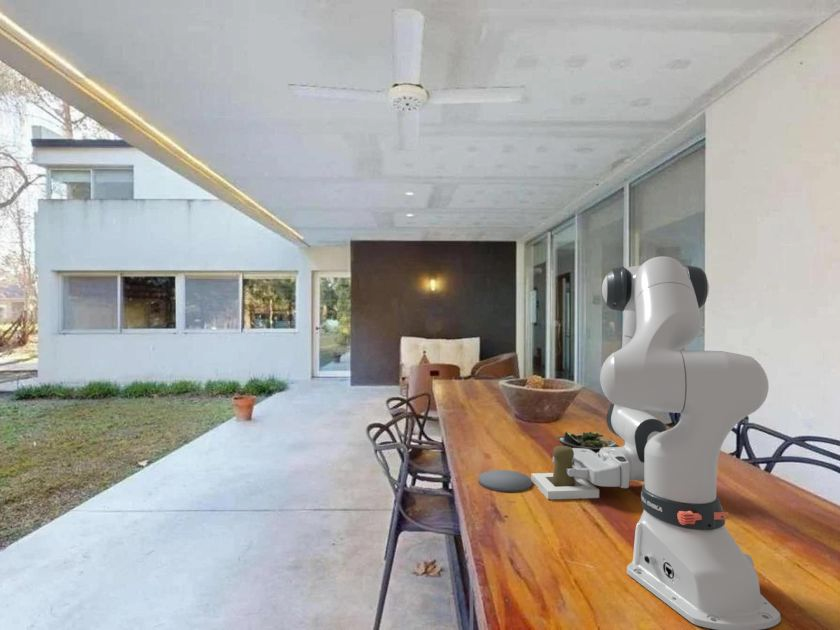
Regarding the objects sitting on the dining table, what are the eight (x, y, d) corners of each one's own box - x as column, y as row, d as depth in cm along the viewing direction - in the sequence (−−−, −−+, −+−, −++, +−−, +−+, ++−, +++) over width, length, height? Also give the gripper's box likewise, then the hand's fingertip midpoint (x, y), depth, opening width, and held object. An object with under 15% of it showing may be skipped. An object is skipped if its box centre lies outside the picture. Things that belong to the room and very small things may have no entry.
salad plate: (583, 435, 177) (583, 423, 177) (627, 445, 162) (627, 432, 162) (550, 443, 166) (550, 430, 166) (594, 455, 151) (594, 441, 151)
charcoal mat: (538, 491, 119) (538, 487, 119) (484, 492, 118) (484, 488, 118) (522, 472, 133) (522, 469, 133) (474, 474, 132) (474, 470, 132)
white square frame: (599, 497, 115) (599, 489, 115) (547, 499, 114) (547, 491, 114) (577, 479, 128) (577, 472, 128) (531, 480, 127) (531, 473, 127)
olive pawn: (577, 494, 117) (577, 450, 117) (552, 492, 119) (552, 449, 119) (574, 485, 123) (574, 444, 123) (550, 484, 124) (550, 443, 125)
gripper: (593, 441, 132) (546, 443, 131) (631, 464, 112) (576, 466, 111) (593, 464, 132) (546, 465, 131) (631, 490, 112) (576, 492, 111)
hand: (560, 465), depth 121 cm, fingers open, 8 cm apart
